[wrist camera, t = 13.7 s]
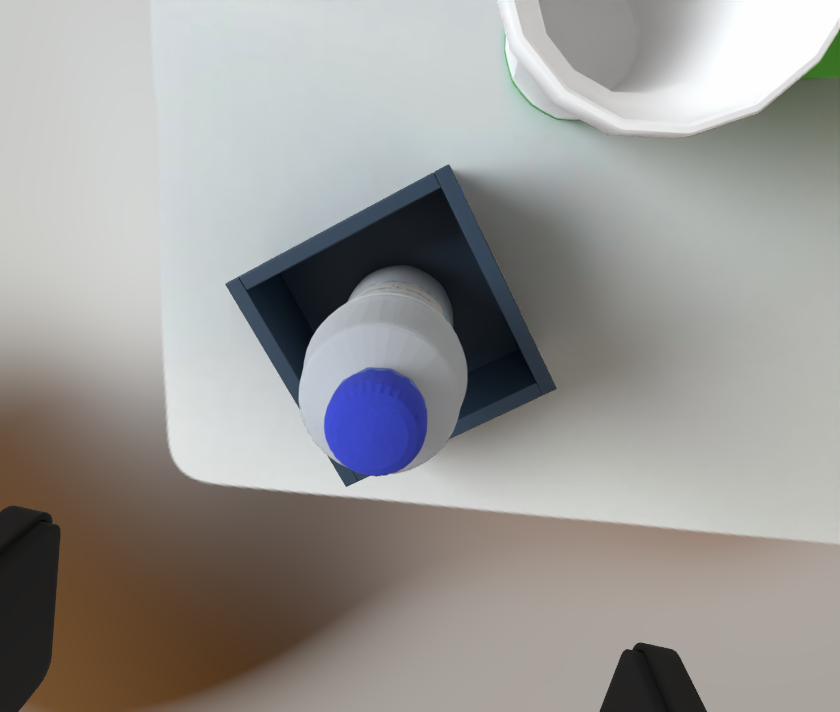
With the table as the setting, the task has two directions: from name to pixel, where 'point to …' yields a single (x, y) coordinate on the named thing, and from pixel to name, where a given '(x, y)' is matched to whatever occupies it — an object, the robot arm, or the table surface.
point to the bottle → (385, 374)
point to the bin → (390, 246)
